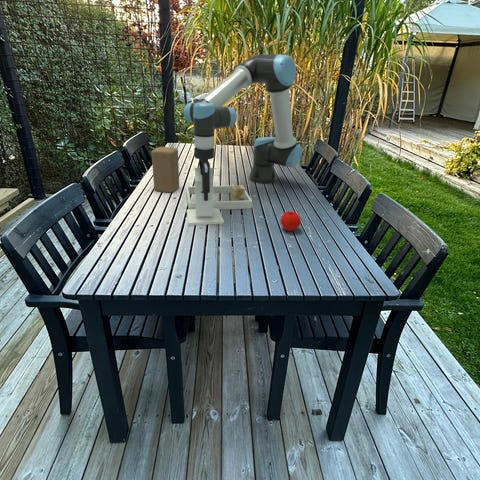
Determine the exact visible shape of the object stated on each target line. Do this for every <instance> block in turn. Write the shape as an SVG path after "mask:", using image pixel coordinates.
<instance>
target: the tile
mask: <svg viewBox="0 0 480 480" xmlns="http://www.w3.org/2000/svg"><path fill="white" fill-rule="evenodd" d="M186 217H187V222H188V226H203V225H204V226H205V225H224V224H225V220H224V219H223V215H222V212H221V210H219V208H215V209H213V216H196V211H195V209H189V208H188V209H186Z"/></svg>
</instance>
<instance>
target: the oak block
mask: <svg viewBox="0 0 480 480" xmlns="http://www.w3.org/2000/svg"><path fill="white" fill-rule="evenodd" d="M238 185H239V184H238ZM230 186H231V193H230V199H229V201H245V190H246V188H245V187H244V186H243V185H242V186H243V187H242V186H241V184H240V185H239V186H236V185H230Z"/></svg>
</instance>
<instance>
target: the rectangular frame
mask: <svg viewBox="0 0 480 480" xmlns="http://www.w3.org/2000/svg"><path fill="white" fill-rule="evenodd" d="M240 185H241V184H240ZM231 186H232V185H213V194H231ZM235 186H239V184H237V185H235ZM241 186H242V187H244V185H241ZM185 195H186V203H187V207H188V209H195V201H192V200H191V196H190V195H195V185H194V186H191V185H190V186H185ZM191 201H192V202H191ZM215 208H219V210H220V211H222V210H243V209H246V210H247V209H253V200H252V198H251V197H250V196H249V194H248V192H247V191H246V189H245V201H230V200H221V201H220V200H219V201H218V200H217V201H214V200H213V209H215Z"/></svg>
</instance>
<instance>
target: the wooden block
mask: <svg viewBox="0 0 480 480" xmlns="http://www.w3.org/2000/svg"><path fill="white" fill-rule="evenodd" d="M150 153H151V163H152V178H153V189H154V191H155V192H164V193H171V194H172V193H174V192H175V191H176V190H177V189H179V187H180V174H179V173H180V171H179V170H180V169H179V166H180V165H179V150H178V148H176V147H167V146H159V147H156V148H154V149H153V150H151V152H150Z"/></svg>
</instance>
